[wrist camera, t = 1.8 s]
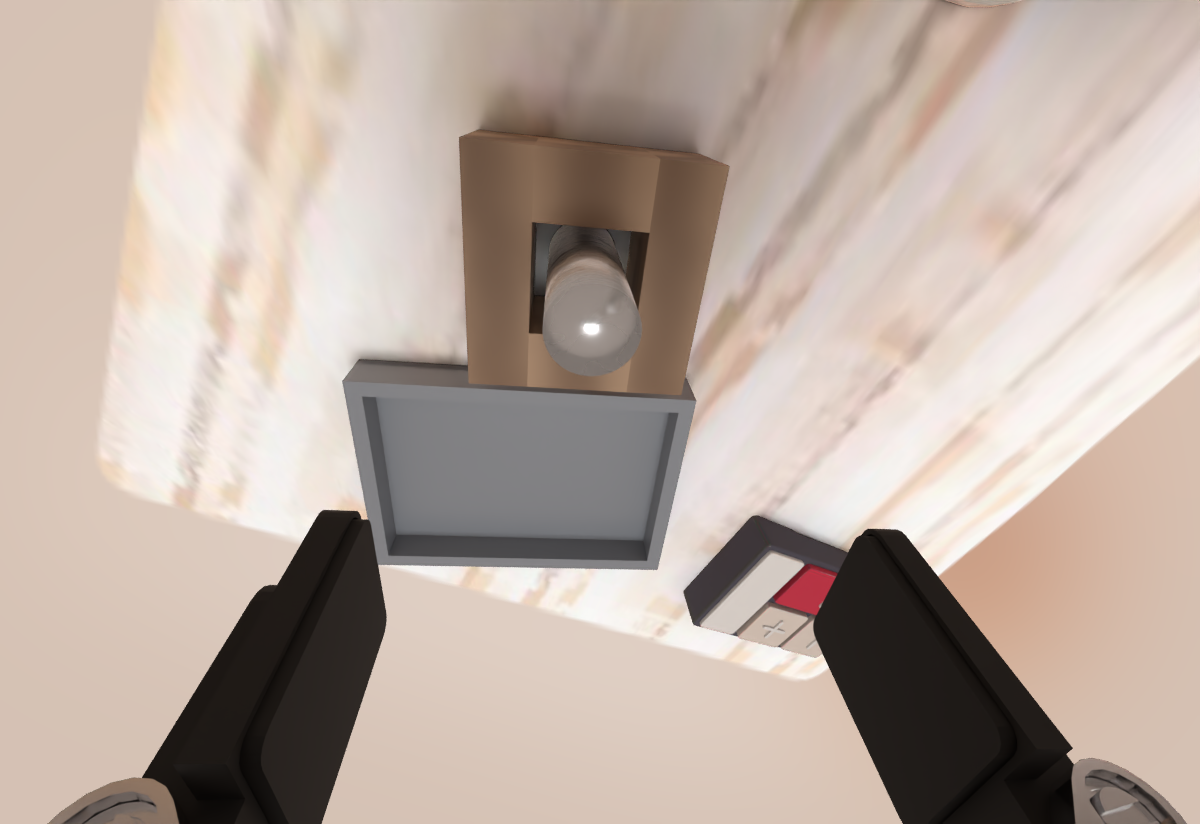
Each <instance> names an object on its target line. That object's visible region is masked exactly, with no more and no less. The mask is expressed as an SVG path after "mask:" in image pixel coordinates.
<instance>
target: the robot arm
mask: <svg viewBox="0 0 1200 824" xmlns="http://www.w3.org/2000/svg"><path fill="white" fill-rule="evenodd" d="M945 1H948V2H952V3H955V4H958V5H962V6H965V7H995V6H1000V5H1006V4H1011V3H1016V2H1019V1H1022V0H945ZM385 627H386V609H385V603H384V598H383V592H382V586H381V580H380V574H379V568H378V562H377V557H376V551H375V545H374V539H373V533H372V527H371V523H370V521H369V520H361V516H360V514H359V512H358V511H338V510H323V511H321V512H320V513H319V515H318V516H317V518H316V519H315V521H314V523H313V525H312V526H311V528H310V530H309V532H308V533H307V535H306V537H305V538H304V540H303V542H302V544H301V545H300V547H299V549H298V550H297V552H296V554H295V556H294V557H293V559H292V561H291V563H290V564H289V566H288V568H287V569H286V571H285V573H284V575H283V576H282V578H281V580H280V581H279V583H278V585H268V586H264V587H263V588H262V589H260V590H259V591H258V592H257V593H256V595H255V596H254V597H253V599H252V600H251V601H250V603H249V605H248V606H247V608H246V610H245V611H244V613H243V614H242V616H241V618H240V619H239V621H238V623H237V624H236V626H235V627H234V629H233V631H232V632H231V634H230V636H229V637H228V639H227V640H226V642H225V644H224V645H223V647H222V649H221V650H220V652H219V653H218V655H217V657H216V658H215V660H214V662H213V663H212V665H211V667H210V668H209V670H208V671H207V673H206V674H205V676H204V678H203V680H202V681H201V683H200V684H199V686H198V687H197V689H196V691H195V693H194V694H193V696H192V697H191V699H190V700H189V702H188V704H187V705H186V707H185V709H184V710H183V712H182V713H181V715H180V717H179V718H178V720H177V721H176V723H175V725H174V726H173V728H172V730H171V731H170V733H169V735H168V736H167V738H166V740H165V741H164V743H163V744H162V746H161V747H160V749H159V751H158V752H157V754H156V756H155V757H154V759H153V760H152V762H151V764H150V765H149V767H148V769H147V770H146V772H145V774H144V775H143V777H142V778H129V779H125V780H121V781H116V782H112V783H109V784H107V785H105V786H103V787H101V788H99V789H97V790H94V791H92V792H90V793H88V794H86V795H84V796H83V797H81V798H80V799H79V800H77V801H76V802H74V803H73V804H71V805H70V806H68V807H67V808H65V809H64V810H63V811H61V812H60V813H59V814H58V815H57V816H55V817H54V818H53V819H52V820H51V821H50V822H49V823H48V824H322V820H323V817H324V814H325V811H326V808H327V805H328V802H329V799H330V796H331V793H332V790H333V787H334V784H335V781H336V778H337V775H338V772H339V769H340V766H341V763H342V759H343V757H344V754H345V751H346V748H347V745H348V742H349V739H350V736H351V733H352V730H353V727H354V724H355V720H356V717H357V714H358V711H359V708H360V705H361V702H362V699H363V696H364V693H365V690H366V687H367V684H368V681H369V678H370V675H371V672H372V669H373V666H374V663H375V660H376V657H377V654H378V651H379V648H380V645H381V642H382V639H383V636H384V632H385ZM813 631H814V636H815V638H816V641H817V643H818V645H819V647H820V649H821V651H822V654H823V656H824V658H825V660H826V662H827V664H828V666H829V668H830V670H831V672H832V675H833V677H834V679H835V681H836V683H837V685H838V687H839V690H840V692H841V694H842V696H843V698H844V700H845V702H846V705H847V707H848V709H849V711H850V713H851V715H852V717H853V719H854V722H855V724H856V726H857V728H858V730H859V732H860V735H861V737H862V739H863V741H864V743H865V745H866V747H867V749H868V752H869V754H870V756H871V758H872V760H873V762H874V764H875V767H876V769H877V771H878V772H879V775H880V777H881V779H882V781H883V784H884V786H885V788H886V790H887V792H888V794H889V796H890V798H891V801H892V803H893V805H894V807H895V809H896V811H897V813H898V815H899V818H900V819H901V821H902V823H903V824H1187V823H1186V822H1185V821H1184V819H1183V818H1182V816H1181V815H1180V814H1179V813H1178V812H1177V811H1176V810H1175V809H1174V808H1173V807H1172V806H1171V805H1170V803H1169V802H1168V801H1167V800H1166V799H1165V798H1164V797H1163V796H1161V795H1160V794H1159V793H1158V792H1157V791H1155V790H1154V789H1153V788H1152V787H1151V786H1150V785H1148V784H1147V783H1146V782H1144V781H1143V780H1141V779H1140V778H1138V777H1137V776H1135V775H1134V774H1132V773H1131V772H1129V771H1128V770H1126V769H1124V768H1122V767H1119V766H1117V765H1115V764H1113V763H1110V762H1108V761H1104V760H1100V759H1095V758H1088V759H1081V760H1079V761H1078V762H1077V763H1076V764H1073V763H1072V761H1071V760H1070V759H1069V758H1068V756H1067V755H1066V754H1067V753H1068V752H1069V751H1070V750H1072V749H1073V748H1072V747H1071V745H1070V744H1069V743H1068V742H1067V740H1066V739H1065V738H1064V736H1063V735H1062V734H1061V733H1060V731H1059V730H1058V729H1057V728H1056V726H1055V725H1054V724H1053V722H1052V721H1051V720H1050V719H1049V718H1048V716H1047V715H1046V714H1045V712H1044V711H1043V710H1042V708H1041V707H1040V706H1039V705H1038V703H1037V702H1036V701H1035V700H1034V698H1033V697H1032V696H1031V694H1030V693H1029V692H1028V691H1027V689H1026V688H1025V687H1024V686H1023V684H1022V683H1021V682H1020V680H1019V679H1018V678H1017V677H1016V676H1015V674H1014V673H1013V672H1012V670H1011V669H1010V668H1009V666H1008V665H1007V664H1006V663H1005V661H1004V660H1003V659H1002V658H1001V656H1000V655H999V654H998V653H997V651H996V650H995V649H994V647H993V646H992V645H991V644H990V642H989V641H988V640H987V639H986V637H985V636H984V635H983V633H982V632H981V631H980V630H979V628H978V627H977V626H976V625H975V623H974V622H973V621H972V620H971V618H970V617H969V616H968V614H967V613H966V612H965V610H964V609H963V608H962V607H961V605H960V604H959V603H958V602H957V600H956V599H955V598H954V596H953V595H952V594H951V593H950V591H949V590H948V589H947V587H946V586H945V585H944V584H943V582H942V581H941V580H940V579H939V577H938V576H937V575H936V573H935V572H934V571H933V570H932V568H931V567H930V566H929V565H928V563H927V562H926V561H925V559H924V558H923V557H922V556H921V554H920V553H919V552H918V551H917V549H916V548H915V547H914V545H913V544H912V543H911V542H910V540H909V539H908V538H907V537H906V535H905V534H903V533H902V532H901V531H899V530H891V529H867V530H865V531H864V532H863V534H862V535H861V536H858V537H857V538H856V539H855V541H854V543H853V545H852V546H851V548H850V550H849V552H848V554H847V556H846V558H845V560H844V562H843V564H842V566H841V568H840V570H839V572H838V574H837V576H836V578H835V580H834V582H833V584H832V586H831V588H830V589H829V591H828V593H827V595H826V597H825V599H824V601H823V603H822V605H821V607H820V609H819V611H818V613H817V615H816V617H815V619H814V622H813Z"/></svg>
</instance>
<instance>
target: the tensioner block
mask: <svg viewBox="0 0 1200 824" xmlns="http://www.w3.org/2000/svg"><path fill="white" fill-rule="evenodd" d="M459 149H460V175H461V200H462V226H463V251H464V277H465V303H466V328H467V354H468V380H469V383H470V384H488V385H506V386H523V387H541V388H559V389H577V390H595V391H612V392H630V393H648V394H666V395H681V394H682V389H683V384H684V380H685V375H686V370H687V365H688V361H689V356H690V351H691V347H692V342H693V337H694V332H695V328H696V323H697V318H698V313H699V309H700V304H701V299H702V294H703V290H704V285H705V280H706V275H707V271H708V266H709V261H710V256H711V252H712V247H713V242H714V238H715V233H716V228H717V223H718V219H719V214H720V209H721V204H722V200H723V195H724V190H725V185H726V181H727V176H728V171H729V166H728V165H725V164H723V163H720V162H718V161H715V160H713V159H711V158H708V157H706V156H703V155H701V154H697V153H687V152H678V151H669V150H660V149H651V148H641V147H632V146H623V145H614V144H605V143H595V142H586V141H577V140H568V139H559V138H550V137H540V136H531V135H522V134H513V133H504V132H494V131H485V130H477V131H474V132H471V133H469V134H466V135H464V136H461V137H459ZM536 223H547V224H558V225H569V226H580V227H591V228H602V229H613V230H624V231H632V232H631V240H630V247H629V255H628V263H627V271H626V278H627V281H628V284H629V287H630V290H631V292H632V295H633V298H634V301H635V304H636V306H637V309H638V312H639V315H640V318H641V323H642V335H641V340H640V343H639V346H638V348H637V350H636V352H635V353H634V355H633V356H632V357H631V359H630V360H629V361H628V362H627V363H626V364H624V365H623V366H622V367H620V368H619V369H617V370H615V371H613V372H611V373H608V374H604V375H600V376H583V375H578V374H575V373H572V372H570V371H568V370H566V369H564V368H563V367H561V366H560V365H559V364H558V363H556V362H555V361H554V359H553V358H552V357H551V356H550V354H549V352H548V351H547V348H546V346H545V343H544V339H543V317H544V305H545V296H534V280H535V250H536Z"/></svg>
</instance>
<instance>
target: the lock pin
mask: <svg viewBox="0 0 1200 824" xmlns="http://www.w3.org/2000/svg"><path fill="white" fill-rule="evenodd" d="M641 335H642V323H641V318H640V315H639V312H638V309H637V306H636V304H635V301H634V298H633V295H632V292H631V290H630V287H629V284H628V281H627V278H626V276H625V273H624V270H623V267H622V264H621V262H620V259H619V256H618V253H617V250H616V248H615V245H614V242H613V239H612V237H611V235H610V234H609V232H608V231H607V230H606V229H602V228H591V227H580V226H569V225H563V226H561V227H560V228H559V229H558V230H557V231H556V233H555V234H554V236H553V238H552V240H551V243H550V247H549V257H548V269H547V281H546V293H545V305H544V317H543V339H544V343H545V346H546V348H547V351H548V352H549V354H550V356H551V357H552V358H553V359H554V361H555V362H556V363H558V364H559V365H560V366H561V367H563V368H564V369H566V370H568V371H570V372H572V373H575V374H578V375H583V376H600V375H604V374H608V373H611V372H613V371H615V370H617V369H619V368H620V367H622V366H623V365H624V364H626V363H627V362H628V361H629V360H630V359H631V357H632V356H633V355H634V353H635V352H636V350H637V348H638V346H639V343H640V340H641Z"/></svg>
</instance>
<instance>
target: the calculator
mask: <svg viewBox="0 0 1200 824" xmlns="http://www.w3.org/2000/svg"><path fill="white" fill-rule="evenodd" d="M847 554H848V552H845V551H843V550H840V549H838V548H835V547H832V546H830V545H827V544H824V543H822V542H819V541H816V540H813V539H811V538H808V537H805V536H803V535H800V534H797V533H796V532H794V531H793V530H792V529H789V528H787V527H784V526H782V525H780V524H777V523H775V522H772V521H770V520H767V519H765V518H763V517H760V516H752V517H751V518H750V519H749V520H748V521H747V522H746V523H745V524H744V525H743V526H742V528H741V529H740V530H739V531H738V532H737V533H736V534H735V535H734V536H733V537H732V539H731V540H730V541H729V542H728V543H727V544H726V545H725V546H724V547H723V548H722V549H721V551H720V552H719V553H718V554H717V555H716V556H715V557H714V558H713V559H712V560H711V562H710V563H709V564H708V565H707V566H706V567H705V568H704V569H703V570H702V571H701V572H700V574H699V575H698V576H697V577H696V578H695V579H694V580H693V581H692V582H691V583H690V585H689V586H688V587H687V588H686V589H685V590H684V595H685V599H686V602H687V606H688V609H689V612H690V616H691V619H692V622H693V624H694V625H696V626H699V627H703V628H707V629H711V630H715V631H719V632H722V633H726V634H730V635H734V636H738V638H740V639H744V640H748V641H752V642H755V643H759V644H763V645H767V646H771V647H781V649H783V650H787V651H791V652H794V653H798V654H802V655H806V656H810V657H814V658H816V657H818V656H820V655H821V654H822V651H821V649H820V647H819V645H818V643H817V641H816V638H815V636H814V631H813V622H814V619H815V617H816V615H817V613H818V611H819V609H820V607H821V605H822V603H823V601H824V599H825V597H826V595H827V593H828V591H829V589H830V588H831V586H832V584H833V582H834V580H835V578H836V576H837V574H838V572H839V570H840V568H841V566H842V564H843V562H844V560H845V558H846V556H847Z"/></svg>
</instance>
